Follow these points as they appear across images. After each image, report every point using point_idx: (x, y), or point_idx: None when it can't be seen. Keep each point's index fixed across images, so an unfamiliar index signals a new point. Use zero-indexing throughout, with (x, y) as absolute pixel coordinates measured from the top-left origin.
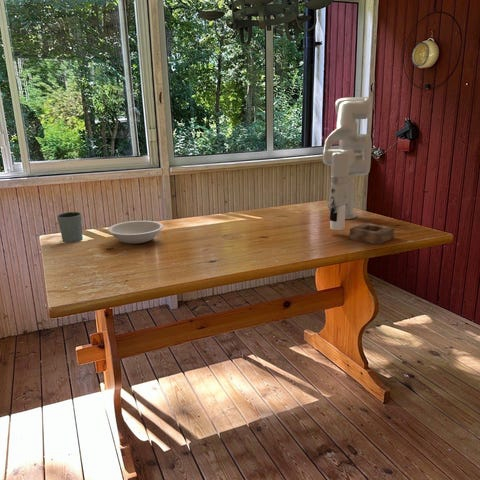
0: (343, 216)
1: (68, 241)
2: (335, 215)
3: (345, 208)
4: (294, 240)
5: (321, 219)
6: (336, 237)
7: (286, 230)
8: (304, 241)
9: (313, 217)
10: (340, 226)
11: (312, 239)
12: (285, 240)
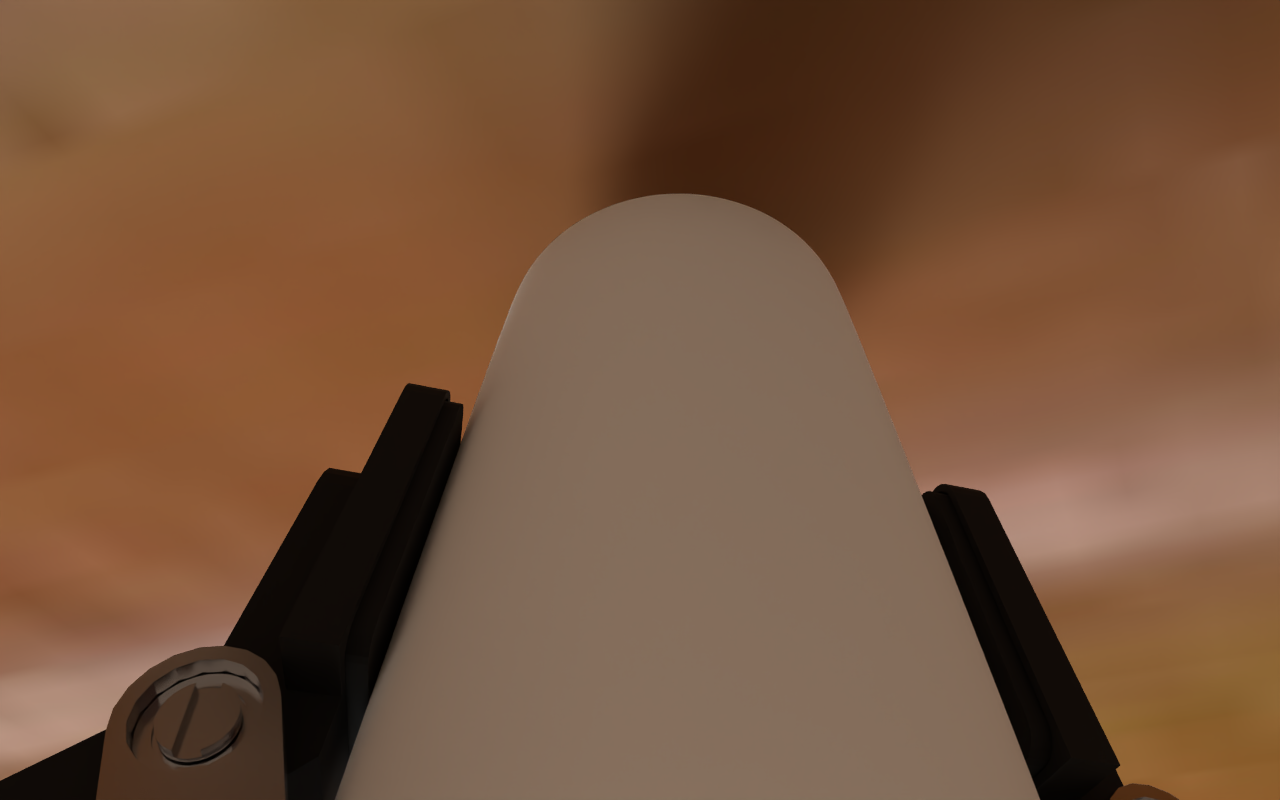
0: (812, 439)
1: None
2: (1045, 683)
3: (627, 742)
4: (1221, 671)
5: (49, 651)
6: (898, 229)
7: None
8: (1270, 578)
9: (61, 722)
10: (835, 296)
11: (1133, 522)
12: (1230, 733)
